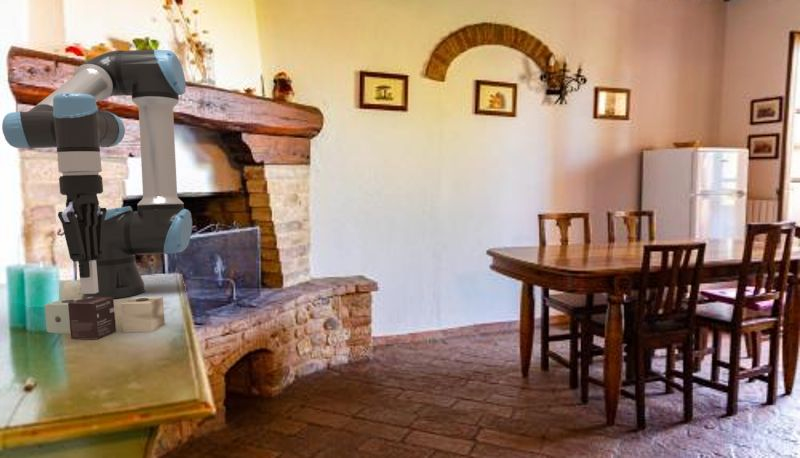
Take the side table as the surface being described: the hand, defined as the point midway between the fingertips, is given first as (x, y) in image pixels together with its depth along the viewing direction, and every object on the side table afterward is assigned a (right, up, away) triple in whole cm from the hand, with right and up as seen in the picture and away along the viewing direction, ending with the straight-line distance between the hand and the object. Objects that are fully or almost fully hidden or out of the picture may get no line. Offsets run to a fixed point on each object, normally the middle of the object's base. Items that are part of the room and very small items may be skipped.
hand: (89, 292), depth 120 cm
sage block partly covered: (-7, -8, +6) cm, 13 cm away
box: (0, -9, +1) cm, 9 cm away
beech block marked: (+9, -8, +6) cm, 13 cm away
